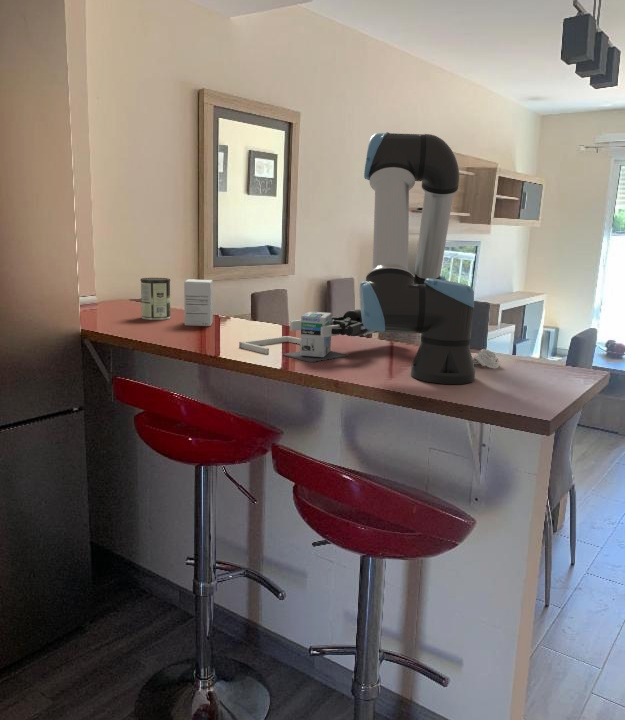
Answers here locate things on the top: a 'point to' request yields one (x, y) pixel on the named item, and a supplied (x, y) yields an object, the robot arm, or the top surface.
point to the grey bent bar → (255, 343)
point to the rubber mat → (314, 359)
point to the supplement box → (198, 302)
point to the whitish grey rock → (486, 359)
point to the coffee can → (155, 298)
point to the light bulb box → (315, 334)
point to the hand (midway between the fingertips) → (306, 329)
